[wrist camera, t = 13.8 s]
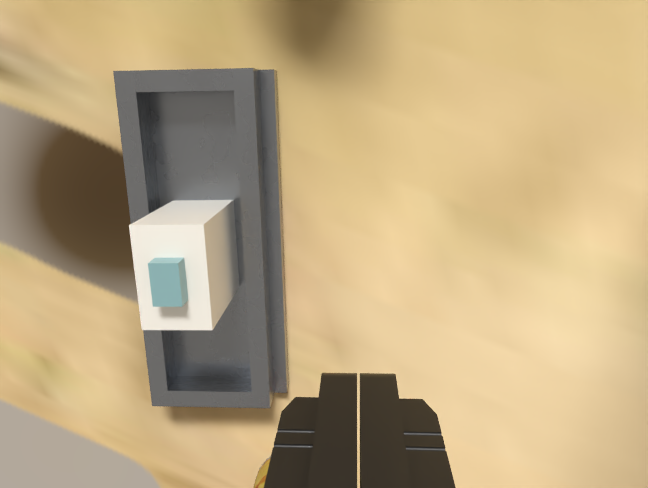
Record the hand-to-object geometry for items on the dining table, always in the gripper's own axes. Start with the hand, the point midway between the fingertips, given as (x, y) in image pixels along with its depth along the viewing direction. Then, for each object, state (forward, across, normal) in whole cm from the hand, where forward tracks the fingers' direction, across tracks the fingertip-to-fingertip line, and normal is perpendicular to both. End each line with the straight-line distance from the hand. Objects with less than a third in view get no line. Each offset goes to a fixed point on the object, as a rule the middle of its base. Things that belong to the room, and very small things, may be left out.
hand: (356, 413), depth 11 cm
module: (+24, +10, +3) cm, 26 cm away
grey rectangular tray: (+25, +10, +3) cm, 27 cm away
